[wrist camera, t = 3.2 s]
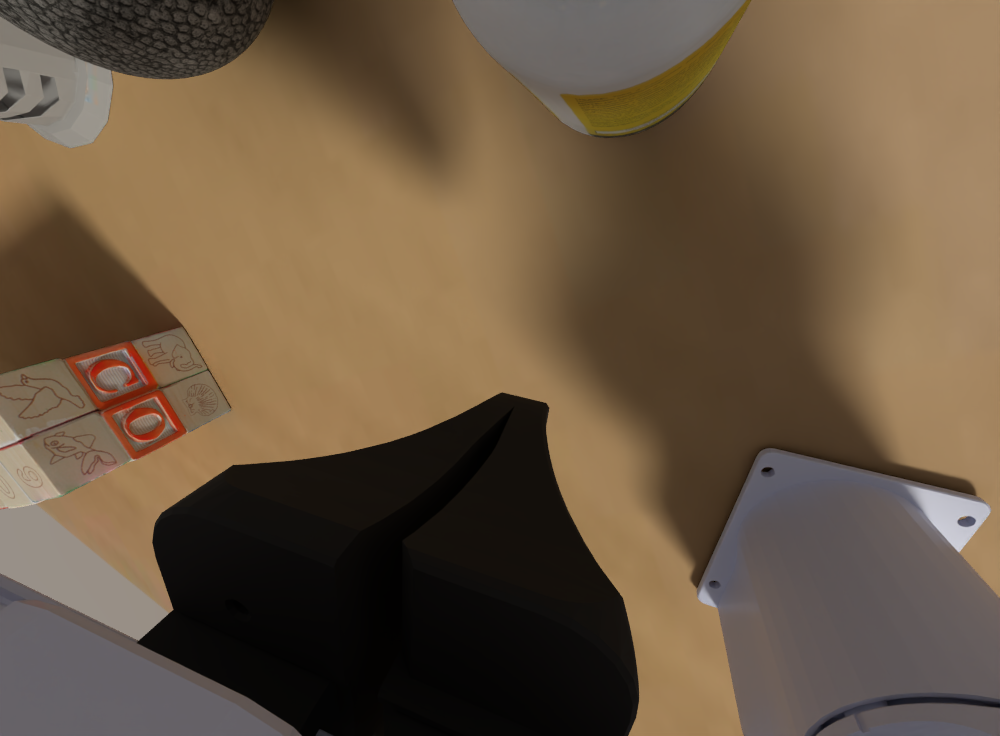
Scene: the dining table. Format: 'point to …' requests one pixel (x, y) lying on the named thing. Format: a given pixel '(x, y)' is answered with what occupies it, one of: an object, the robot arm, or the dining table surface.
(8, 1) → the decorative ball
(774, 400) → the dining table surface
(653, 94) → the pill bottle
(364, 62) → the dining table surface
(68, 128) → the french press
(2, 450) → the stack of blocks
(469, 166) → the dining table surface
